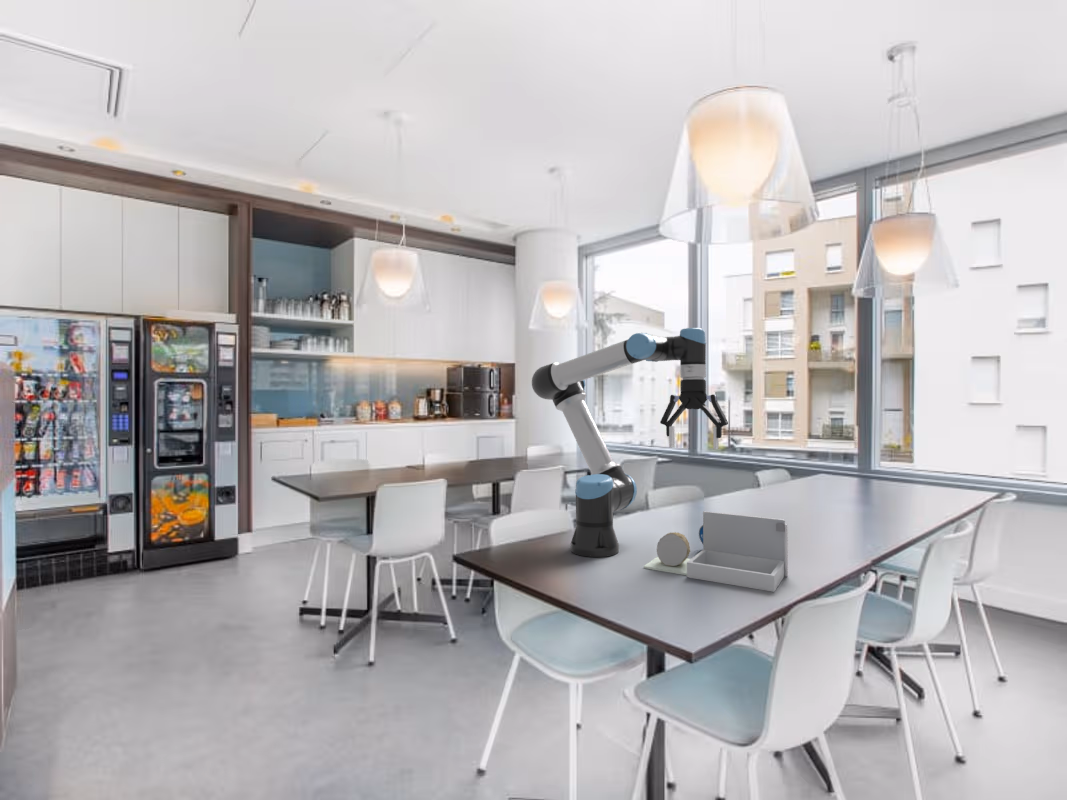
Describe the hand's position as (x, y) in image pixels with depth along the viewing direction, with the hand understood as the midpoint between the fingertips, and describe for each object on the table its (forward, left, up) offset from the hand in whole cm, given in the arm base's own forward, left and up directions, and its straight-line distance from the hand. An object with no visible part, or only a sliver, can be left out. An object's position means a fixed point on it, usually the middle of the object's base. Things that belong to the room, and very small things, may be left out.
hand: (693, 448), depth 175 cm
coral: (-1, -14, -32) cm, 35 cm away
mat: (-1, -14, -33) cm, 36 cm away
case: (+16, -15, -33) cm, 39 cm away
